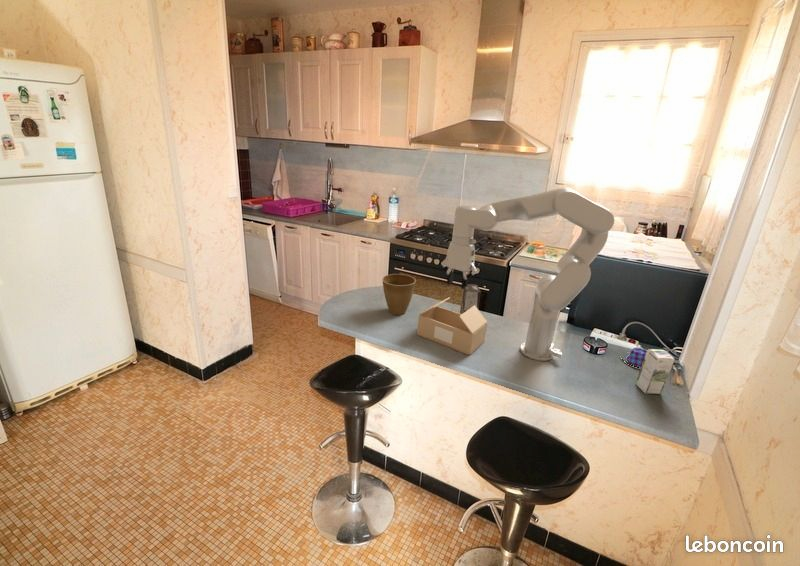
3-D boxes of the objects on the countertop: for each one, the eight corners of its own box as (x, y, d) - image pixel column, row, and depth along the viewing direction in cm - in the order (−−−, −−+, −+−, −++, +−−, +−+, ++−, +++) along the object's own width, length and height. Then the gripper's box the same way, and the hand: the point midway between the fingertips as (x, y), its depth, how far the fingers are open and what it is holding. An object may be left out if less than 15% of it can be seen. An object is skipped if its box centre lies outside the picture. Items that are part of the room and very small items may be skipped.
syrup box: (650, 384, 137) (663, 348, 131) (661, 395, 131) (675, 358, 126) (634, 383, 136) (647, 348, 131) (645, 394, 131) (658, 357, 125)
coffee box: (476, 326, 170) (481, 292, 164) (461, 325, 170) (466, 291, 164) (473, 316, 178) (477, 284, 173) (459, 315, 178) (463, 283, 173)
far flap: (450, 297, 161) (449, 297, 161) (433, 307, 151) (433, 306, 151) (436, 304, 166) (435, 304, 166) (419, 314, 156) (419, 314, 156)
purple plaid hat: (648, 357, 155) (652, 345, 153) (660, 374, 144) (665, 362, 142) (616, 352, 157) (619, 340, 155) (625, 368, 146) (629, 356, 144)
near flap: (458, 316, 145) (459, 315, 145) (474, 305, 155) (474, 305, 155) (471, 333, 144) (472, 333, 143) (486, 321, 154) (487, 321, 153)
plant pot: (414, 306, 185) (417, 275, 179) (411, 320, 171) (413, 287, 165) (384, 303, 187) (385, 271, 181) (377, 316, 173) (379, 283, 167)
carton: (484, 342, 157) (487, 322, 154) (469, 356, 147) (472, 335, 143) (433, 323, 170) (435, 305, 166) (416, 334, 159) (418, 315, 156)
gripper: (488, 243, 141) (481, 289, 148) (447, 233, 150) (442, 277, 157) (479, 247, 136) (472, 294, 142) (437, 237, 145) (432, 282, 151)
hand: (456, 285), depth 150 cm, fingers open, 5 cm apart
